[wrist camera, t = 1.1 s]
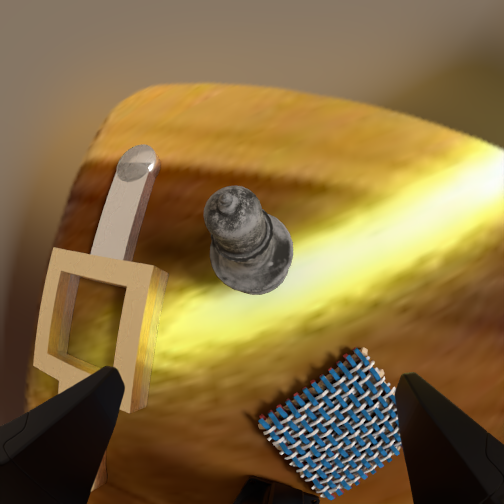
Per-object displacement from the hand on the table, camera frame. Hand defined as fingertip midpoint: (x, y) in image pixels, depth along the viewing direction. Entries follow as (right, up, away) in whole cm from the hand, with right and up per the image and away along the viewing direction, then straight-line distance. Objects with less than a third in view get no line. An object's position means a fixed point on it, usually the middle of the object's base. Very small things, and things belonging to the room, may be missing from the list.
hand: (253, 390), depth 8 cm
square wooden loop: (-15, -9, +15) cm, 23 cm away
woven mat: (+7, -10, +12) cm, 17 cm away
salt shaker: (0, +3, +16) cm, 16 cm away
